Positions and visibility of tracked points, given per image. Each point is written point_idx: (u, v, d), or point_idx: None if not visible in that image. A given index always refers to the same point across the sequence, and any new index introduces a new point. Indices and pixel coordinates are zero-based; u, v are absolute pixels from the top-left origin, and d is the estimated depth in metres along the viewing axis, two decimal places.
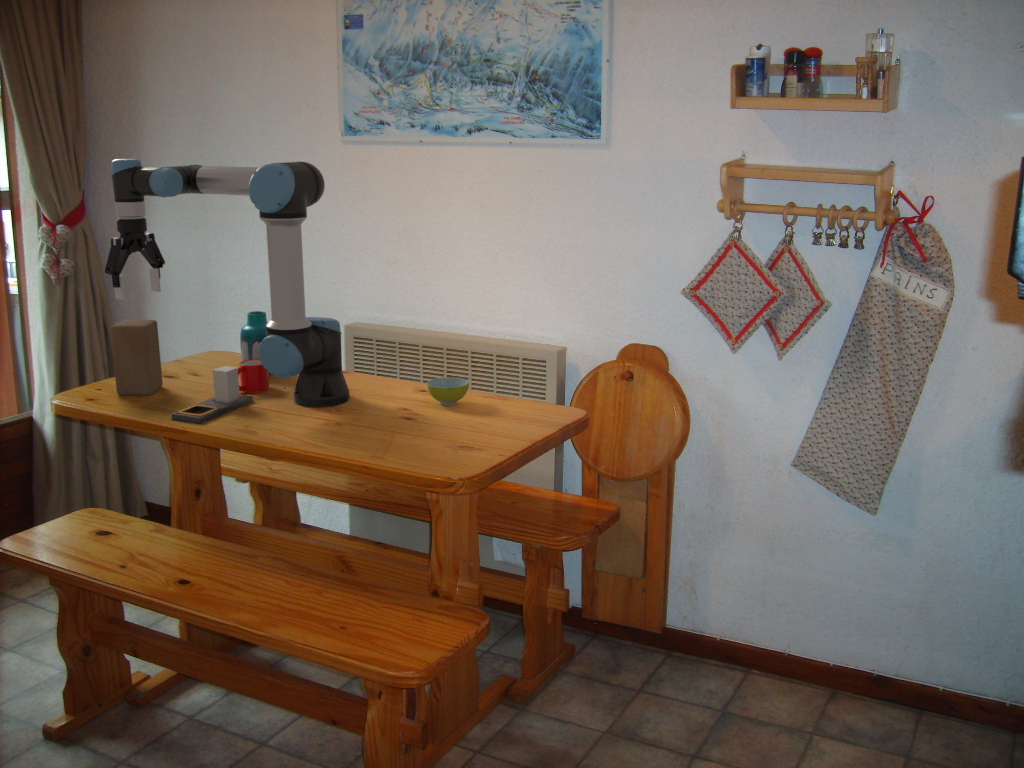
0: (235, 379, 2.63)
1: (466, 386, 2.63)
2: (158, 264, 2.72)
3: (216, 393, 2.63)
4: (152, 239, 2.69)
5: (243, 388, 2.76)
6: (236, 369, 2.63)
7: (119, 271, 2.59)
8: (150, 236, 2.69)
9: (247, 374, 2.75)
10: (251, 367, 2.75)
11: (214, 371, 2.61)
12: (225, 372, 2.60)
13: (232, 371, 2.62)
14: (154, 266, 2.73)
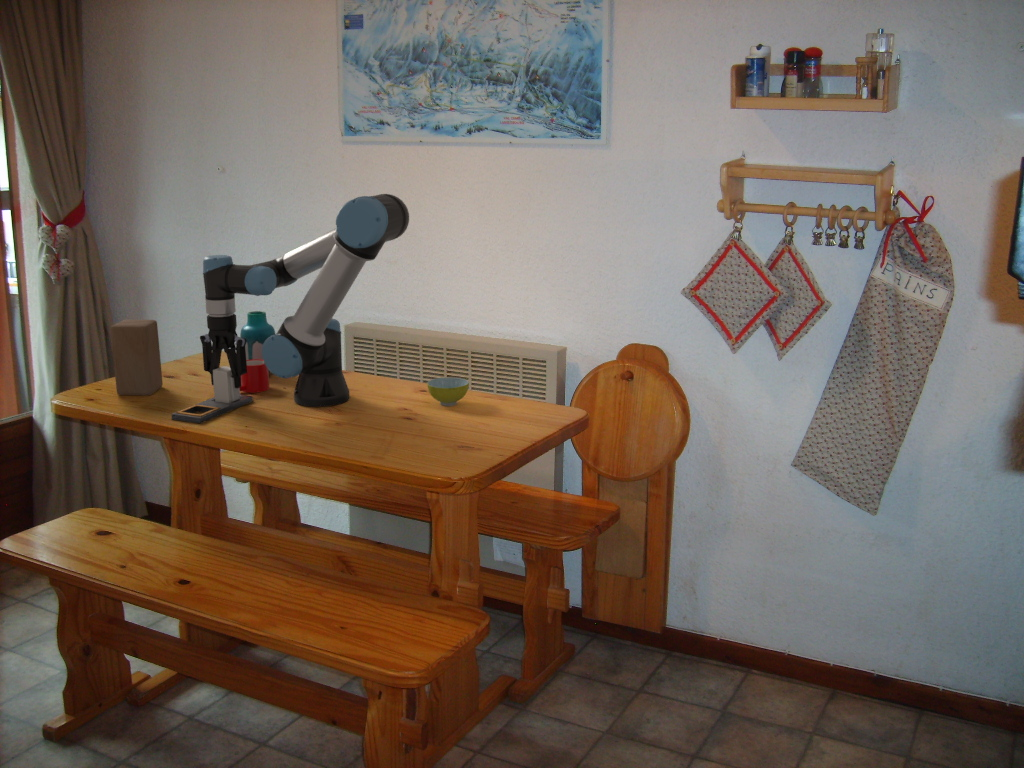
0: None
1: (466, 386, 2.63)
2: (233, 373, 2.60)
3: (216, 393, 2.63)
4: (237, 345, 2.57)
5: (243, 388, 2.76)
6: None
7: (211, 370, 2.63)
8: None
9: (247, 374, 2.75)
10: (251, 367, 2.75)
11: (214, 371, 2.61)
12: (225, 372, 2.60)
13: None
14: None
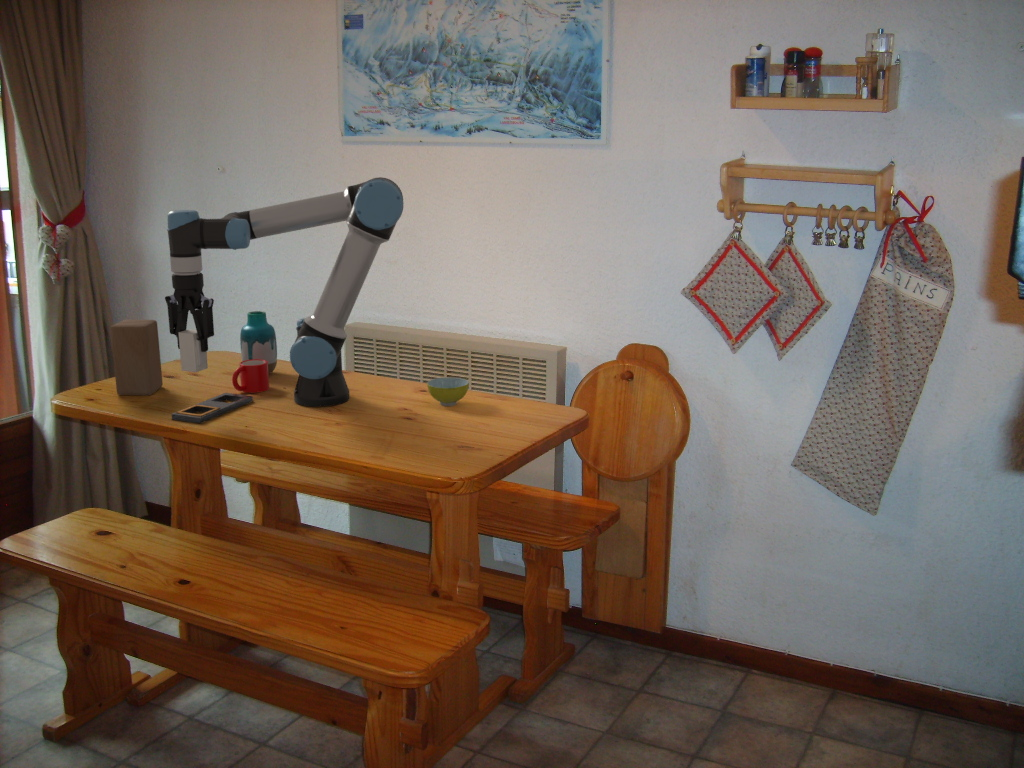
0: None
1: (466, 386, 2.63)
2: (199, 335, 2.46)
3: (182, 357, 2.48)
4: (203, 305, 2.43)
5: (243, 388, 2.76)
6: None
7: (177, 332, 2.48)
8: None
9: (247, 374, 2.75)
10: (251, 367, 2.75)
11: (180, 333, 2.47)
12: (191, 334, 2.46)
13: None
14: None
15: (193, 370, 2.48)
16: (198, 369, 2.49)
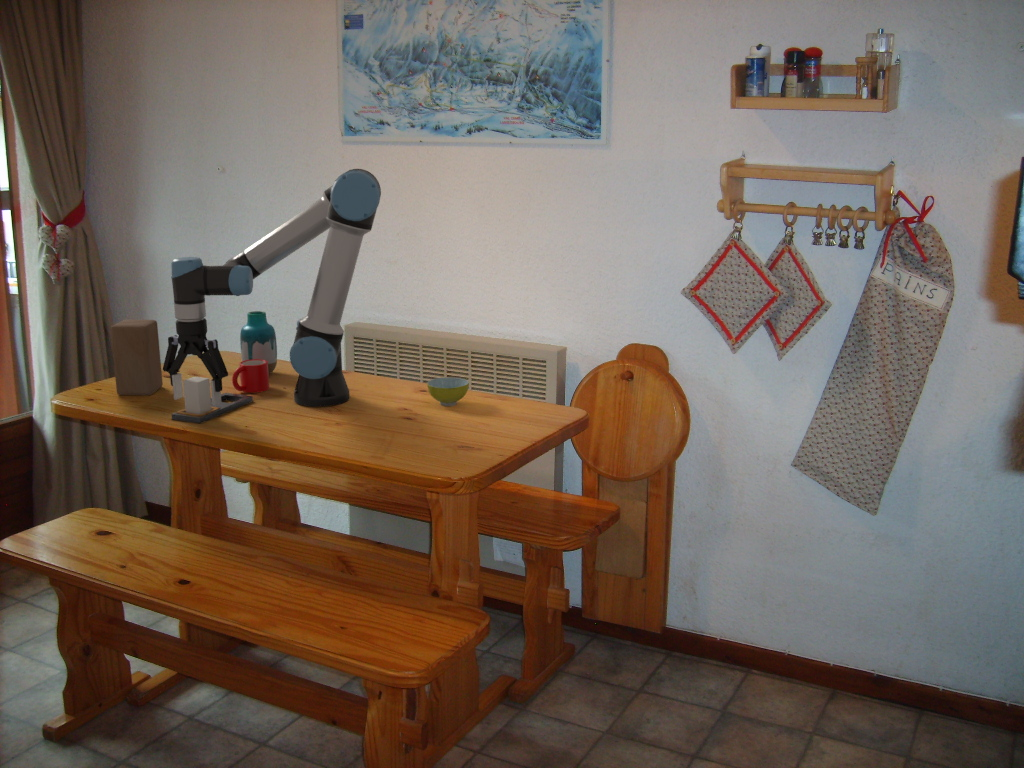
0: (206, 390, 2.52)
1: (466, 386, 2.63)
2: (213, 376, 2.48)
3: (186, 405, 2.52)
4: (208, 347, 2.46)
5: (243, 388, 2.76)
6: (207, 380, 2.52)
7: (171, 370, 2.52)
8: None
9: (247, 374, 2.75)
10: (251, 367, 2.75)
11: (184, 382, 2.50)
12: (196, 383, 2.49)
13: (203, 382, 2.51)
14: None
15: None
16: None
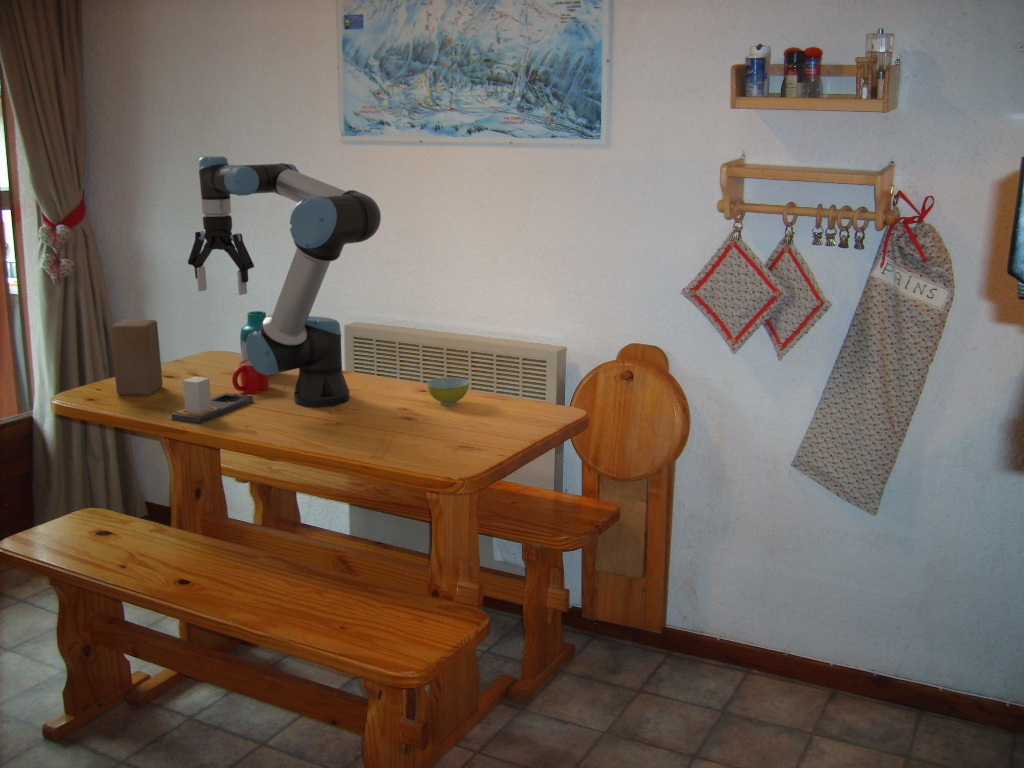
0: (206, 390, 2.52)
1: (466, 386, 2.63)
2: (240, 267, 2.63)
3: (186, 405, 2.52)
4: (234, 240, 2.62)
5: (243, 388, 2.76)
6: (207, 380, 2.52)
7: (195, 263, 2.68)
8: None
9: (247, 374, 2.75)
10: (251, 367, 2.75)
11: (184, 382, 2.50)
12: (196, 383, 2.49)
13: (203, 382, 2.51)
14: None
15: None
16: None
